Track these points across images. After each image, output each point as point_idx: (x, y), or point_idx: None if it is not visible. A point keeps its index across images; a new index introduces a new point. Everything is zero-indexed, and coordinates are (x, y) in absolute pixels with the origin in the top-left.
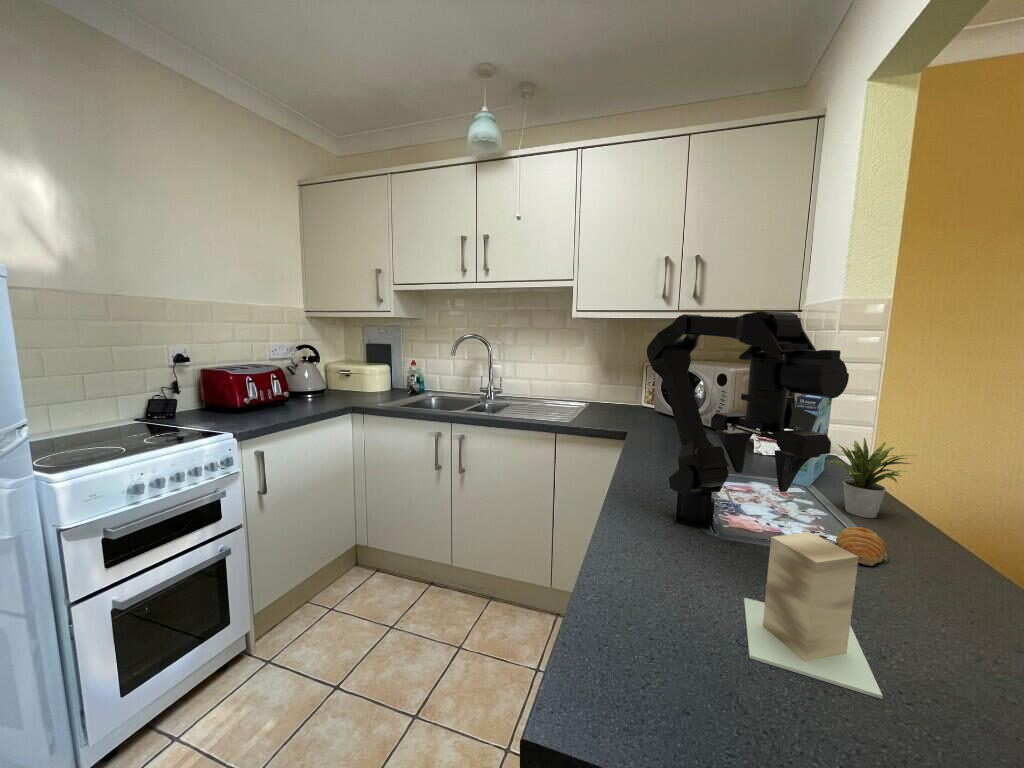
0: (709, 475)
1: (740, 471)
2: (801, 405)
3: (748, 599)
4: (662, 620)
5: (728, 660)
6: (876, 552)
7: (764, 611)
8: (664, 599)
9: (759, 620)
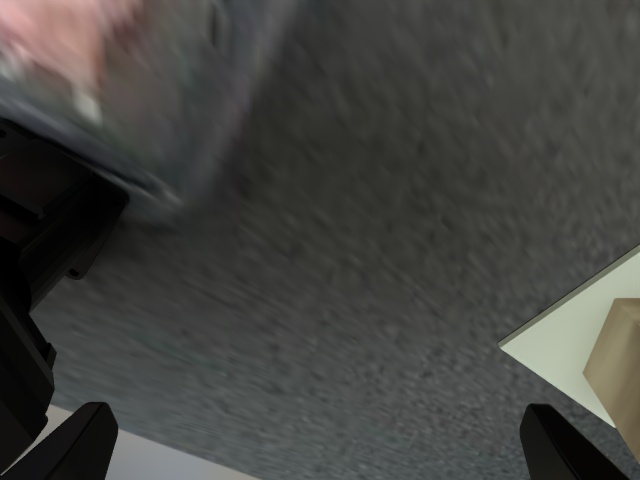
0: (4, 401)
1: (105, 418)
2: None
3: (509, 345)
4: (479, 470)
5: (595, 444)
6: None
7: (600, 400)
8: (434, 448)
9: (568, 368)
